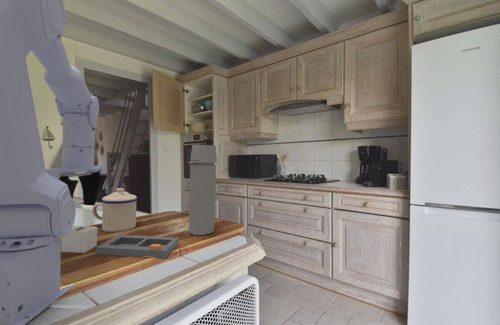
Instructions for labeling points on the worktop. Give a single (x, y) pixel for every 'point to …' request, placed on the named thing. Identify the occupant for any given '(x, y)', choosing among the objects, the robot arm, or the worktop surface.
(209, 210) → the water bottle
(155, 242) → the grey divided tray
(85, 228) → the block
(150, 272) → the worktop surface
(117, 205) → the teacup with lid
